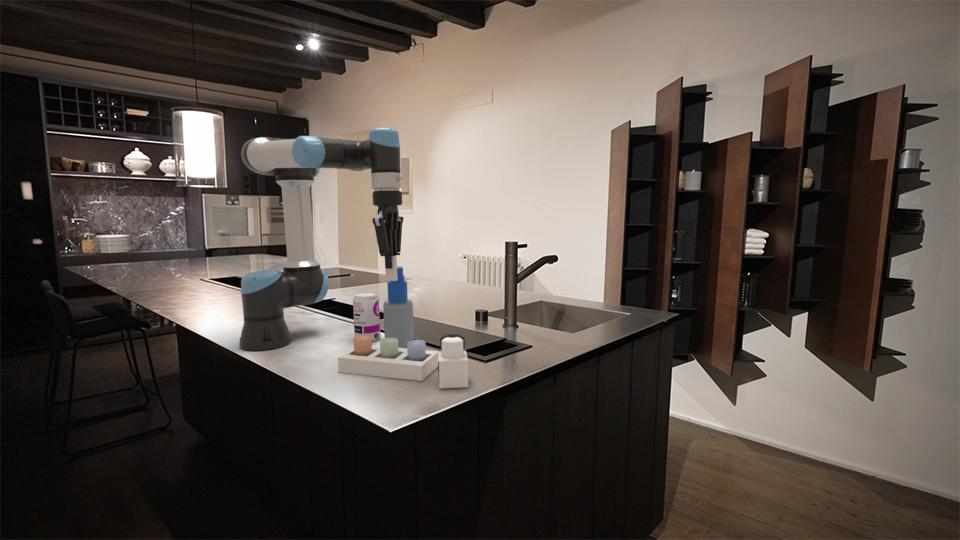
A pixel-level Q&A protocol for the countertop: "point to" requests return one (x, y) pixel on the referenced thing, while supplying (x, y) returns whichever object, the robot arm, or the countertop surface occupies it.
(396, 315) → the spray bottle
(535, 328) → the countertop surface
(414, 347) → the button blue
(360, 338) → the button terracotta
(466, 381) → the medicine bottle
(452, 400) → the countertop surface
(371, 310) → the supplement can
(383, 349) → the button sage
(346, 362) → the panel
